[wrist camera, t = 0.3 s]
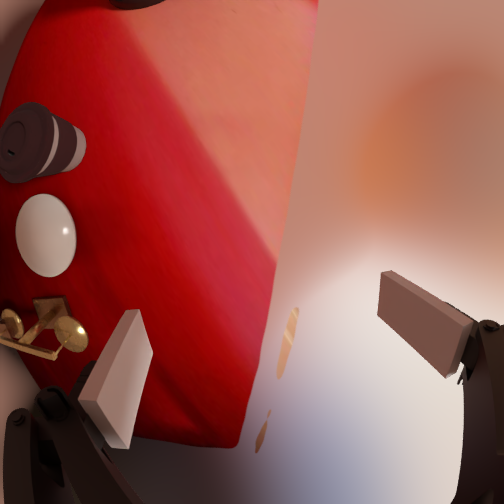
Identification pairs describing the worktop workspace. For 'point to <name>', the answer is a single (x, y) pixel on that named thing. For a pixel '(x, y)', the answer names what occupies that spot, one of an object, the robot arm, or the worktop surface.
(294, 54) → the worktop surface
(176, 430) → the worktop surface
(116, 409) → the robot arm
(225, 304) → the worktop surface
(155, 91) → the worktop surface
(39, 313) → the balance
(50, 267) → the saucer
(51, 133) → the coffee cup
